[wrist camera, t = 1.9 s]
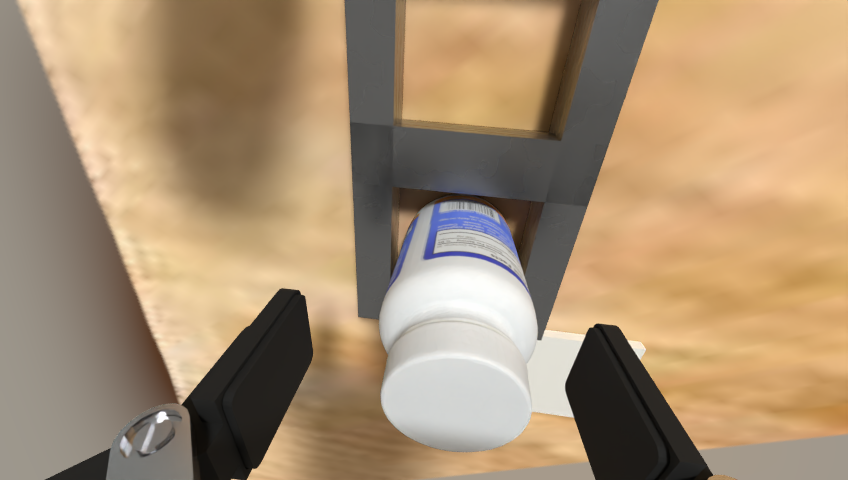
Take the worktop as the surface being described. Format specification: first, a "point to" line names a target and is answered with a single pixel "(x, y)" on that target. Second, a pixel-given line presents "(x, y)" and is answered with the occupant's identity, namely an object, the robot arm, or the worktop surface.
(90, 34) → the worktop surface
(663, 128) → the worktop surface
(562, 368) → the tile
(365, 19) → the grey double square frame
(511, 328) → the pill bottle
